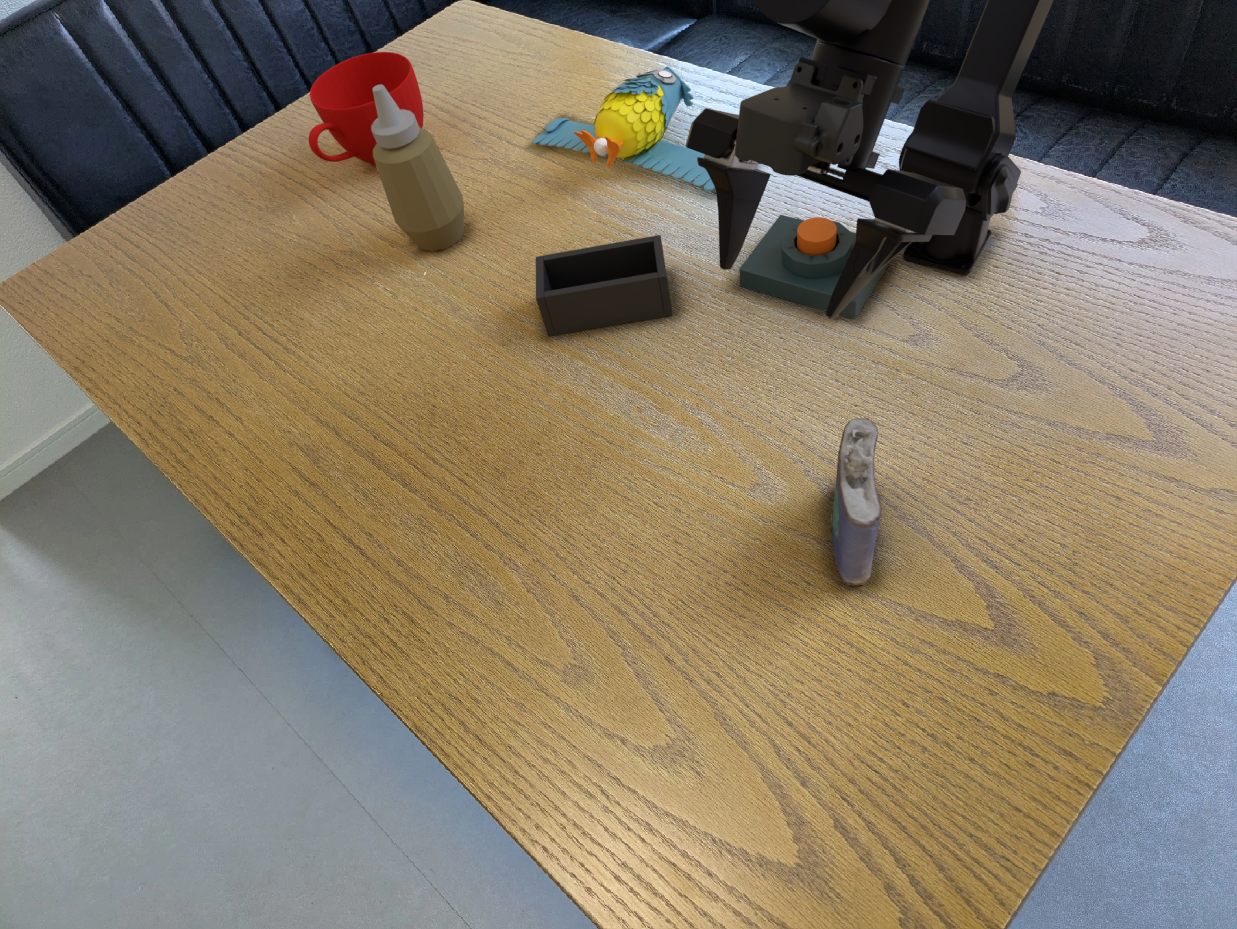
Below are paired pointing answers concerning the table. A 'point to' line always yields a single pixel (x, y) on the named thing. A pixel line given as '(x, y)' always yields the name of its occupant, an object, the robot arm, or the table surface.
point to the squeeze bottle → (415, 177)
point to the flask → (855, 503)
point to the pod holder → (602, 285)
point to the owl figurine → (635, 128)
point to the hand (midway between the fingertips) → (775, 291)
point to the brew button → (816, 236)
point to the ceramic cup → (361, 101)
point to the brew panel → (801, 268)
